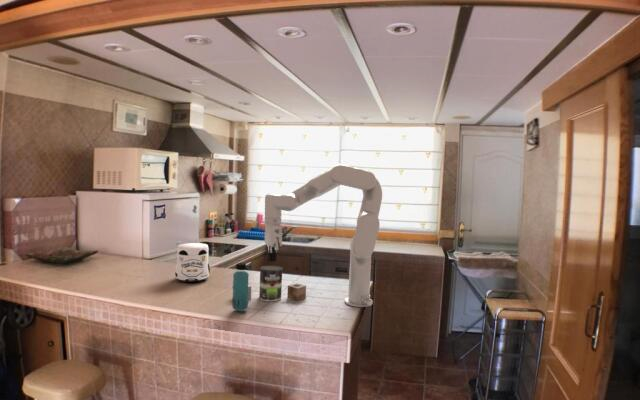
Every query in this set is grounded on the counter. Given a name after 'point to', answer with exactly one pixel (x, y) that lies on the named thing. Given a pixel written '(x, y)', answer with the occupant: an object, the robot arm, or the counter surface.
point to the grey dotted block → (249, 291)
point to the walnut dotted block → (296, 292)
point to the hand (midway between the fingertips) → (272, 260)
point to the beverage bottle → (240, 288)
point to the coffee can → (270, 283)
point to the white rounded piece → (192, 262)
